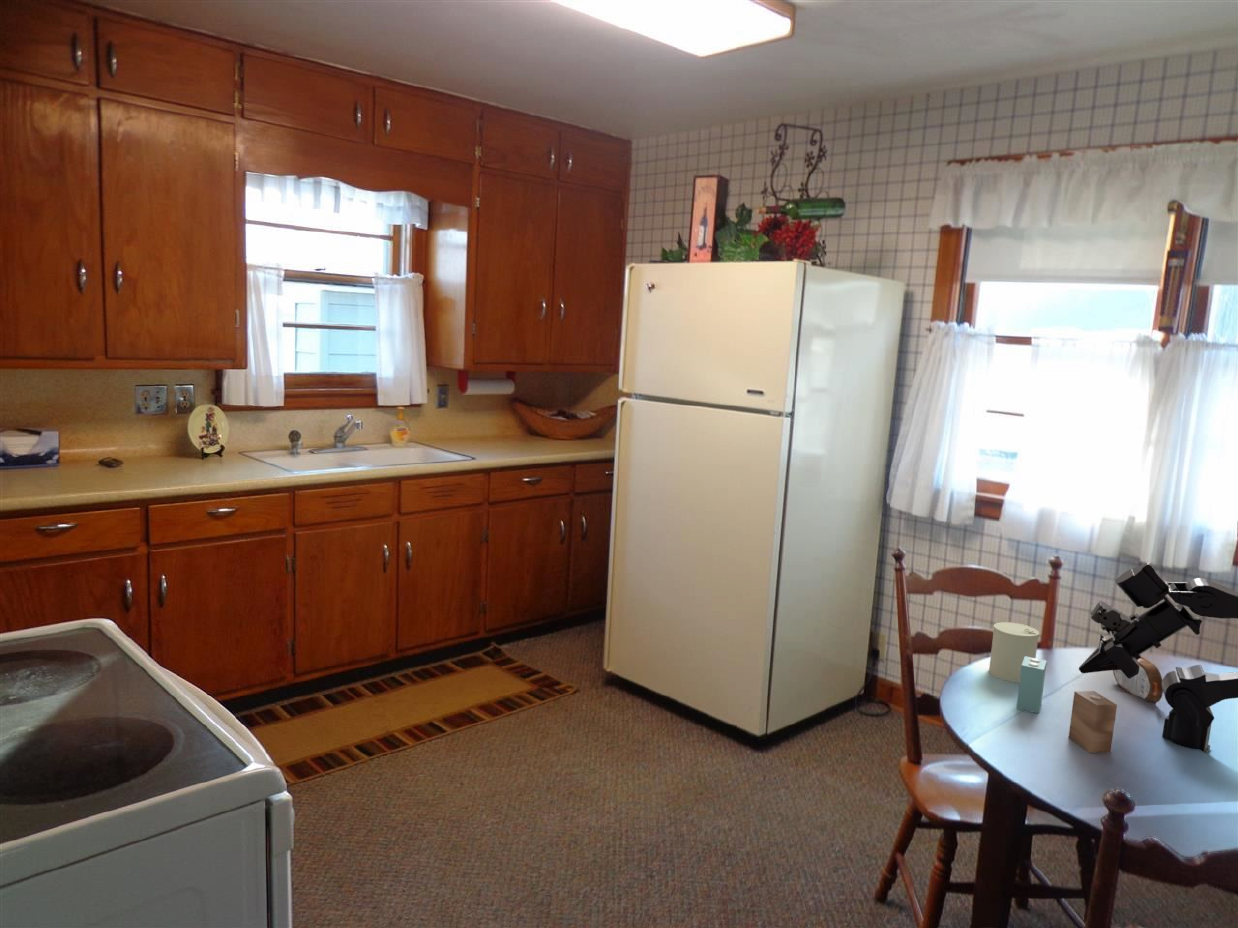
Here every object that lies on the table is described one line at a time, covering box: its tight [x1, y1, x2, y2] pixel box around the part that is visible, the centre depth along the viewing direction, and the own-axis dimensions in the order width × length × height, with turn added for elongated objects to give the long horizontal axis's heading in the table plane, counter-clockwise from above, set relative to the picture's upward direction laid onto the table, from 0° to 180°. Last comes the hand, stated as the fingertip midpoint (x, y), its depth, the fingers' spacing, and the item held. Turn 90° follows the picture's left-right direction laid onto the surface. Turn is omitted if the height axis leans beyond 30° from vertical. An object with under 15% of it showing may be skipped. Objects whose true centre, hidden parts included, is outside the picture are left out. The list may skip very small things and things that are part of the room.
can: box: [988, 621, 1040, 683], centre depth 192 cm, size 9×9×12 cm
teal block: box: [1016, 656, 1048, 714], centre depth 176 cm, size 4×6×9 cm, turn 150°
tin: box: [1112, 655, 1164, 704], centre depth 188 cm, size 15×3×8 cm, turn 179°
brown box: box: [1068, 690, 1118, 754], centre depth 160 cm, size 4×6×9 cm, turn 9°
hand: (1080, 670), depth 170 cm, fingers closed
